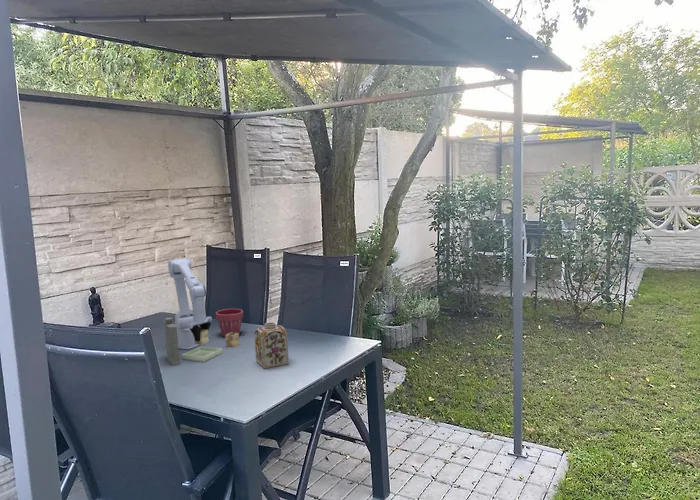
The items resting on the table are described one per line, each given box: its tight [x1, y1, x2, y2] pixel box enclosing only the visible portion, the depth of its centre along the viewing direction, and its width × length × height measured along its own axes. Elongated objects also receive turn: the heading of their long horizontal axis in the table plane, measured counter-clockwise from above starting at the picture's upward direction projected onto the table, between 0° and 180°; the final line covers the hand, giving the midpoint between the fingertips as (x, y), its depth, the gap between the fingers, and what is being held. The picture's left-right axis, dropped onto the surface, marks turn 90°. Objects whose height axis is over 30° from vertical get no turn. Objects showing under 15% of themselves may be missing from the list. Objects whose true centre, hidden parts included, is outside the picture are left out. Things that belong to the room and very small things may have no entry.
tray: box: [181, 345, 224, 363], centre depth 242 cm, size 13×13×2 cm
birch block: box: [194, 329, 210, 346], centre depth 241 cm, size 4×4×6 cm
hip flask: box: [163, 317, 180, 366], centre depth 237 cm, size 16×4×20 cm, turn 29°
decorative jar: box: [253, 322, 289, 369], centre depth 228 cm, size 12×12×18 cm
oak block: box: [225, 332, 240, 348], centre depth 257 cm, size 4×4×6 cm
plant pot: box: [215, 308, 244, 338], centre depth 276 cm, size 14×14×13 cm
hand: (201, 339), depth 241 cm, fingers closed on birch block, 4 cm apart
